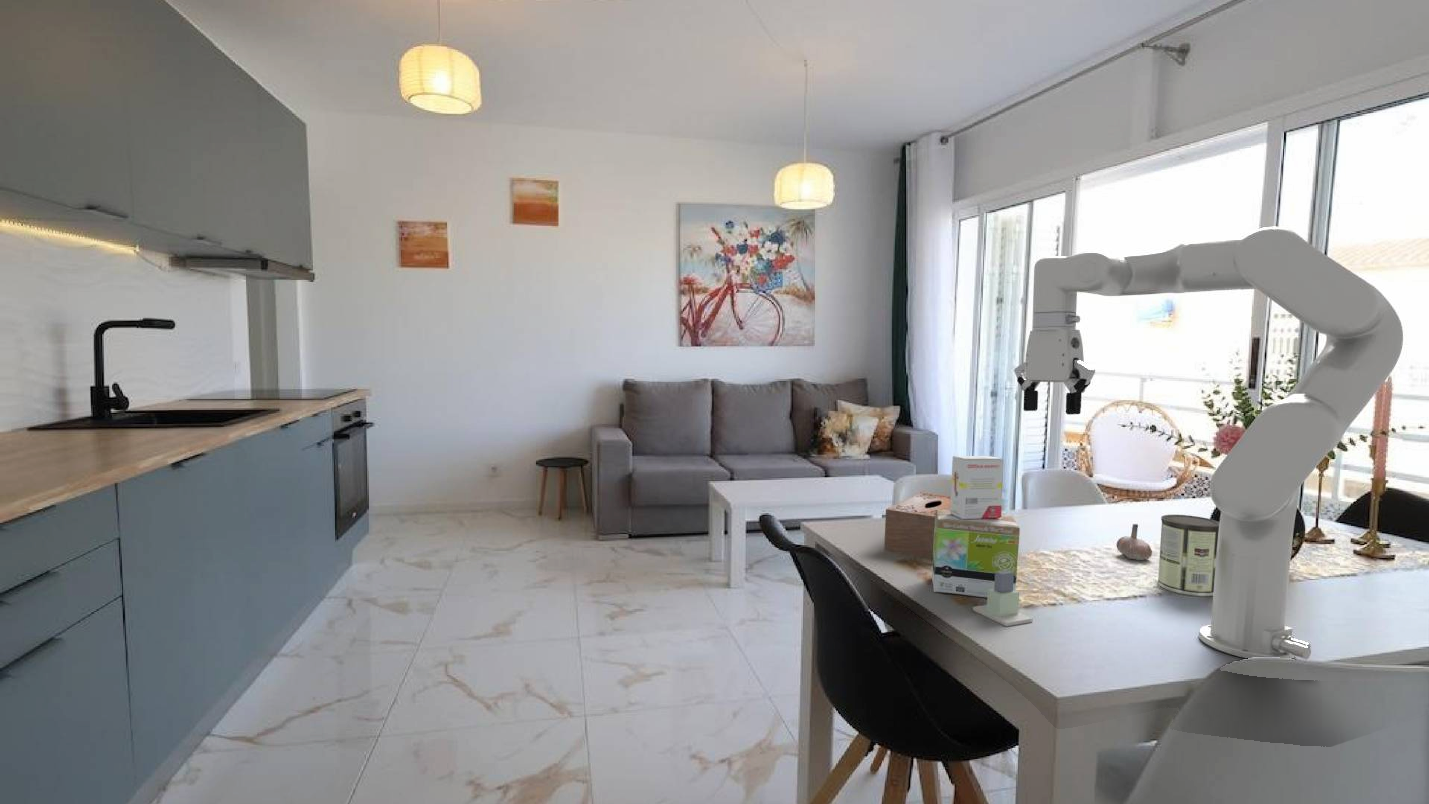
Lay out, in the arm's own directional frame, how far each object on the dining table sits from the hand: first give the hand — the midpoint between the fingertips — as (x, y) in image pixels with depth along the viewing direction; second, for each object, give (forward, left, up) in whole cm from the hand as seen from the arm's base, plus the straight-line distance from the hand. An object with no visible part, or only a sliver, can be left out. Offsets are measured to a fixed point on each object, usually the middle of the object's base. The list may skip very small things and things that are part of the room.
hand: (1051, 412), depth 137 cm
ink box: (+7, +11, -21) cm, 25 cm away
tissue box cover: (+36, -4, -36) cm, 51 cm away
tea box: (+6, +11, -36) cm, 38 cm away
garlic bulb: (+11, -42, -36) cm, 56 cm away
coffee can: (-8, -32, -36) cm, 48 cm away
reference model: (-7, +16, -36) cm, 40 cm away
